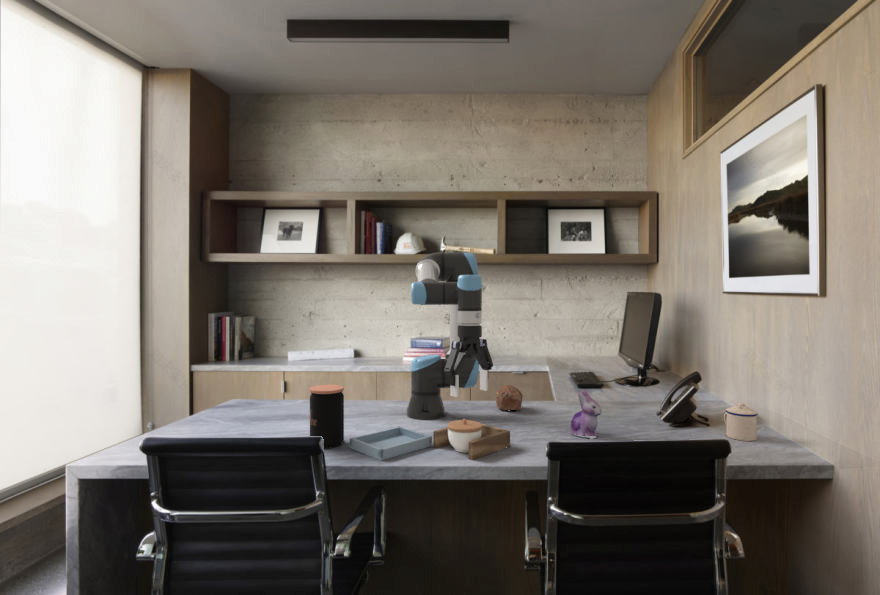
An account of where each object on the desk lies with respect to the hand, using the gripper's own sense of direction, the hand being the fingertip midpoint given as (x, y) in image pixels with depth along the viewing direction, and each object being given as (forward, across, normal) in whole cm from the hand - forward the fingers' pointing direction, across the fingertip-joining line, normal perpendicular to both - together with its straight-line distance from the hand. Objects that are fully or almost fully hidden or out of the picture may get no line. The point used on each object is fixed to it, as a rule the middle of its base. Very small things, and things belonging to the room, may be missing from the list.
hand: (469, 393), depth 154 cm
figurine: (+17, +39, -18) cm, 47 cm away
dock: (+17, +2, +1) cm, 17 cm away
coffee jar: (+17, -29, +35) cm, 49 cm away
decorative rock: (+17, +50, +23) cm, 58 cm away
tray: (+17, -16, +18) cm, 30 cm away
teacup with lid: (+17, +74, -55) cm, 94 cm away
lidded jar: (+17, -1, +1) cm, 17 cm away
